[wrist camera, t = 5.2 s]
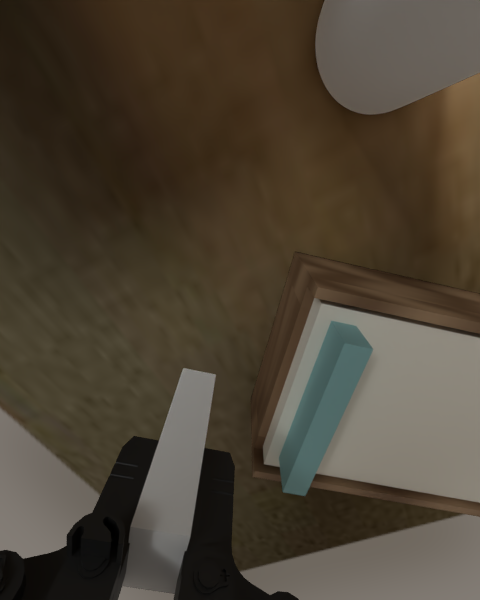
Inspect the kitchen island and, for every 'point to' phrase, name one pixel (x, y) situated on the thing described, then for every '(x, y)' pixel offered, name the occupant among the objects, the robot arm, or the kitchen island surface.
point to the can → (395, 50)
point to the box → (368, 295)
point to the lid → (379, 404)
